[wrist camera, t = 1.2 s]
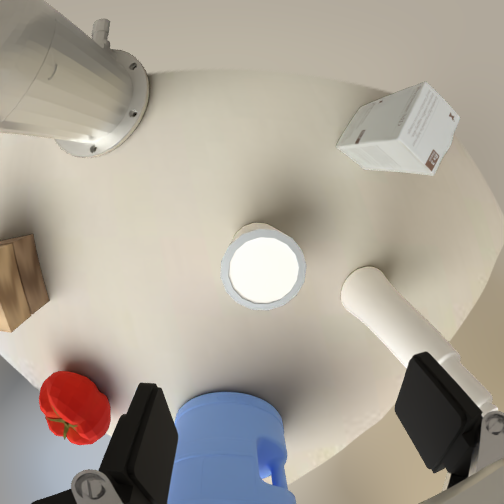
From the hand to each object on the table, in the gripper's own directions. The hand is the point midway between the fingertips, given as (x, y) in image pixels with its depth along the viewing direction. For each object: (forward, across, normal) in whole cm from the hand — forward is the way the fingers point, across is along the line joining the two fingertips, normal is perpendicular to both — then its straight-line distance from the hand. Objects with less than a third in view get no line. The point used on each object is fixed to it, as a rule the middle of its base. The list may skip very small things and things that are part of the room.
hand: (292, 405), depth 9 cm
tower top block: (+16, +32, 0) cm, 36 cm away
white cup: (+21, 0, 0) cm, 21 cm away
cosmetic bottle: (+21, -12, +5) cm, 25 cm away
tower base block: (+21, +32, 0) cm, 38 cm away
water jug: (+21, +6, +26) cm, 34 cm away
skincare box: (+21, -12, -12) cm, 27 cm away
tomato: (+21, +28, +20) cm, 40 cm away
